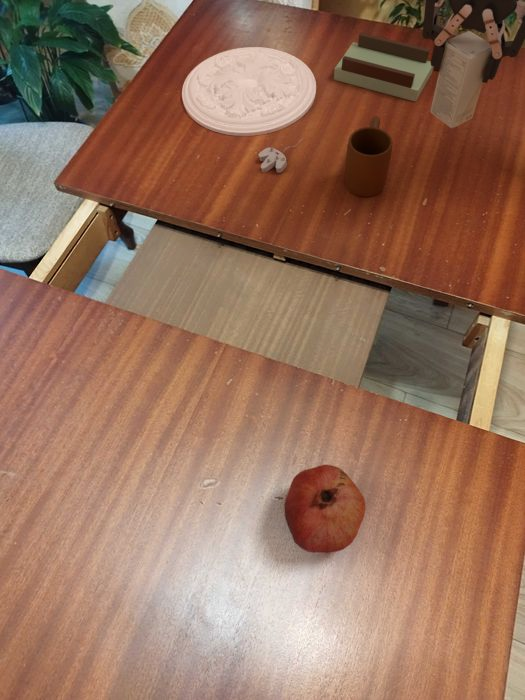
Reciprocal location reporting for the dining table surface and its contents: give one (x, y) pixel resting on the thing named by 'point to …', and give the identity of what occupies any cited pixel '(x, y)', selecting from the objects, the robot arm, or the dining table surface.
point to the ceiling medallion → (249, 91)
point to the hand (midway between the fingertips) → (461, 73)
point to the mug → (367, 159)
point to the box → (460, 78)
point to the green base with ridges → (385, 66)
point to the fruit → (324, 509)
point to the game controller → (273, 159)
